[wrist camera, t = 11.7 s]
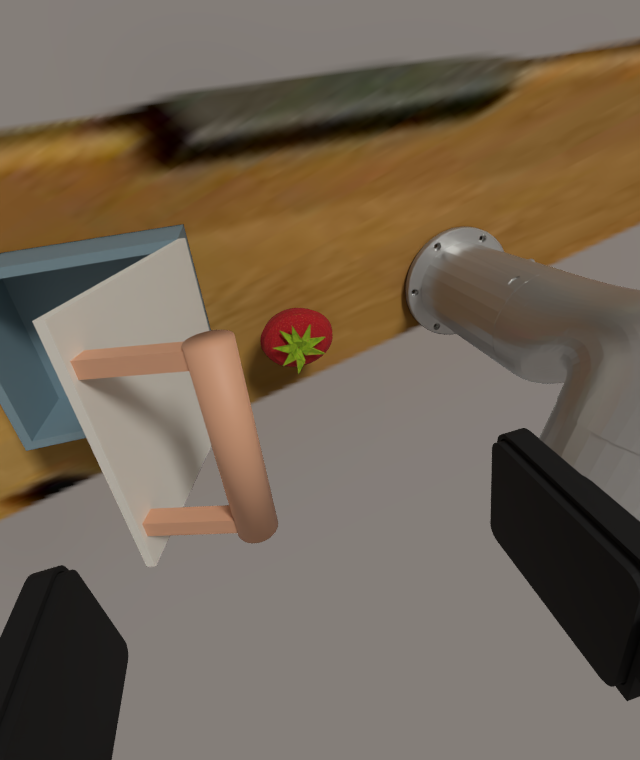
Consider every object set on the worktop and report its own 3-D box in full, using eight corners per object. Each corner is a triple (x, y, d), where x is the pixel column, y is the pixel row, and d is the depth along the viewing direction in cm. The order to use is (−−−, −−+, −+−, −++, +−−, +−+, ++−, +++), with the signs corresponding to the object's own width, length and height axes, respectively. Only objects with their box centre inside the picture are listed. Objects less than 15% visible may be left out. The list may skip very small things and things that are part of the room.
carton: (183, 224, 42) (177, 238, 34) (220, 368, 50) (223, 407, 42) (-15, 255, 40) (-70, 278, 32) (56, 402, 47) (26, 450, 40)
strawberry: (324, 336, 51) (348, 372, 42) (262, 351, 50) (273, 391, 41) (316, 288, 48) (339, 316, 39) (249, 303, 47) (259, 335, 39)
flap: (178, 238, 34) (280, 226, 33) (223, 407, 42) (308, 401, 41) (29, 322, 19) (216, 304, 18) (145, 569, 26) (280, 566, 25)
